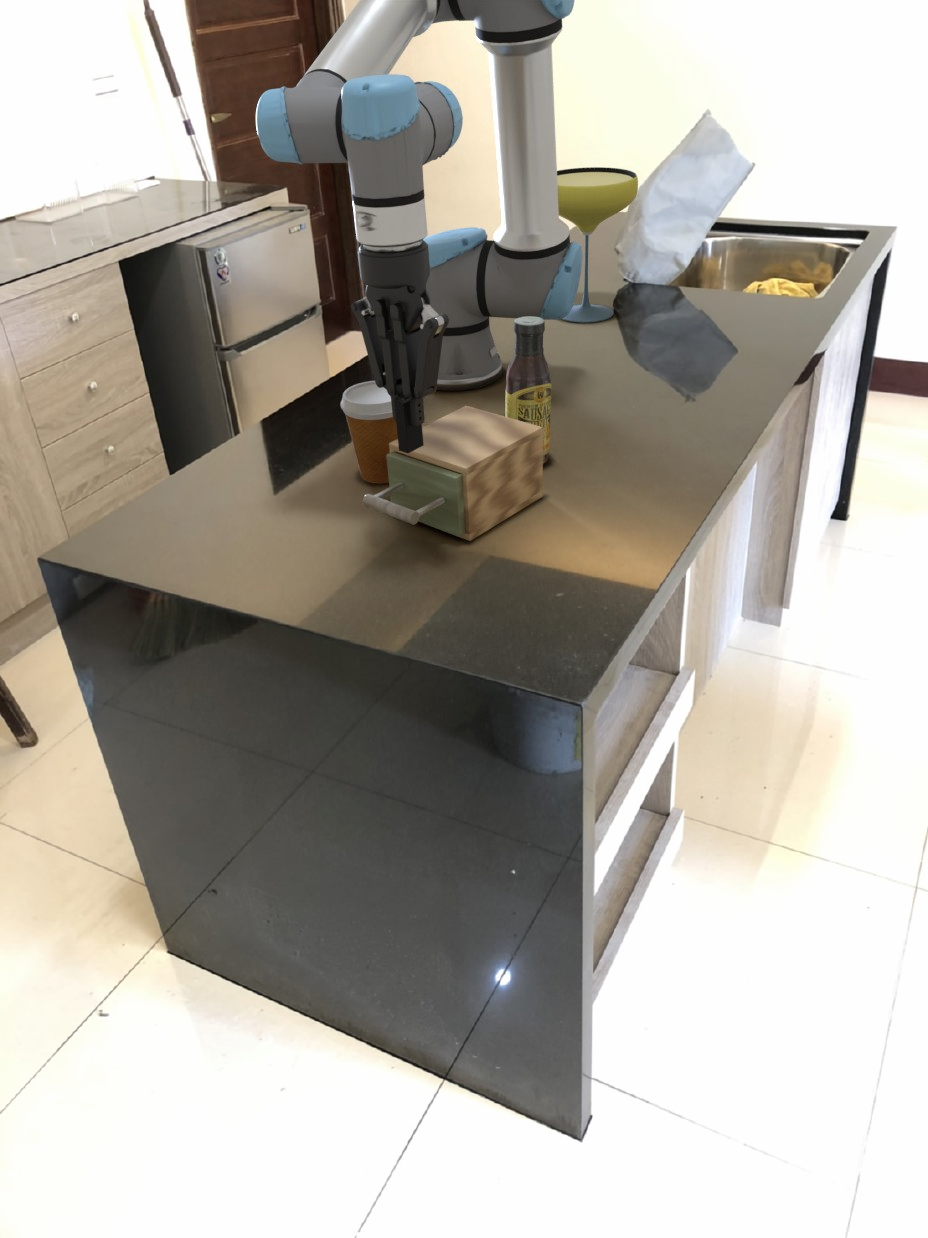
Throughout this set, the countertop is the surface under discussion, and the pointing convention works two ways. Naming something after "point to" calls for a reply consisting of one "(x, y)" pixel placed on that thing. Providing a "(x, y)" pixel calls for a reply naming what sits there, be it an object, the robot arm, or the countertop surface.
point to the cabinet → (486, 463)
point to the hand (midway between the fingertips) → (411, 447)
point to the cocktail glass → (593, 216)
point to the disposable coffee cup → (370, 428)
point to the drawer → (421, 494)
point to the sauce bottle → (529, 379)
